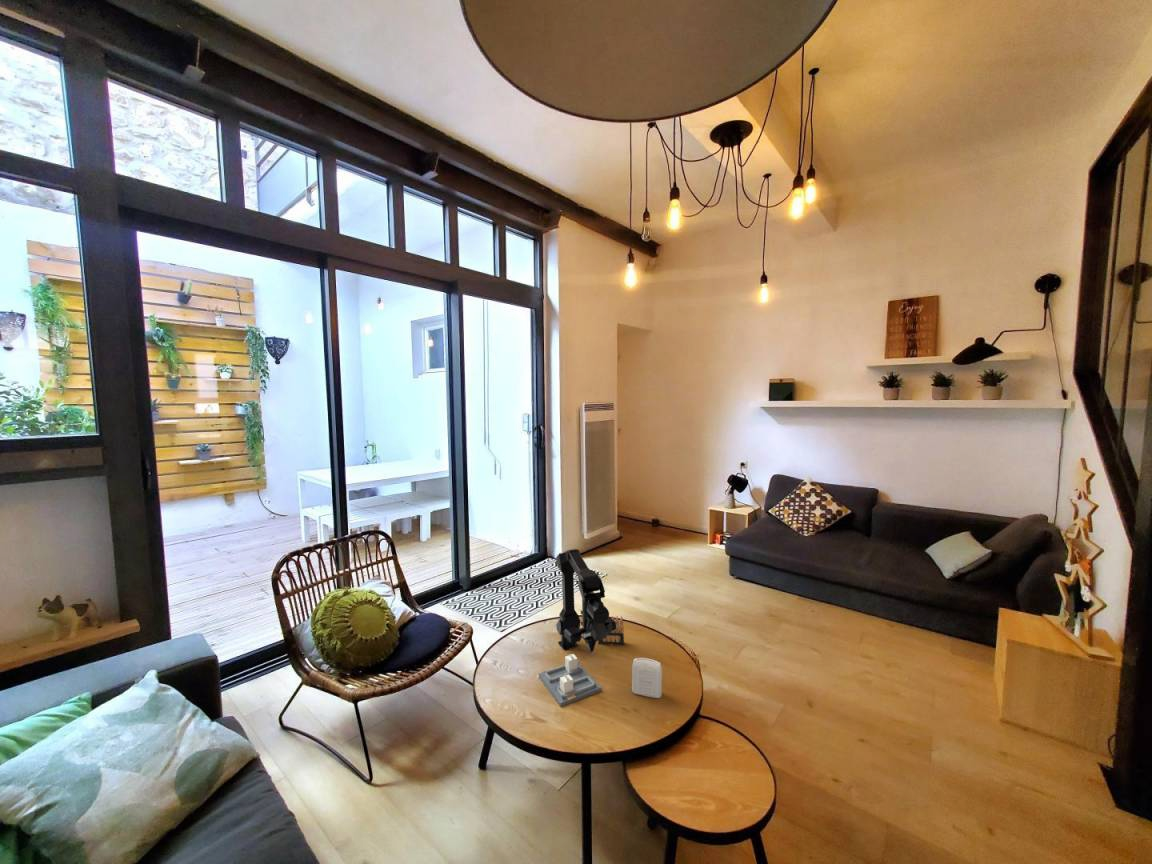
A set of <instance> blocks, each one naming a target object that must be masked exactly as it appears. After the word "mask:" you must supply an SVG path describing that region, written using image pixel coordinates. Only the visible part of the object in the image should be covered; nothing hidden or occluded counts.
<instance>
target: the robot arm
mask: <svg viewBox="0 0 1152 864" xmlns="http://www.w3.org/2000/svg"><path fill="white" fill-rule="evenodd" d="M580 552H581V551H580V550H579V548H578V549H577V548H573V549H568V550H566V551H564V552H559V553H558V554H557V555H556V559H555V562H556V565H557V568H558V570H559V571H560V572H561V585H562V588H561V589H562V609H561V611H560V613H559V616H558V618H559V619H558V621H557V623H556V624H555V626H556V631H557V632H558V635H559V636H560V638H561V639H560V641H559V640H558V642H557V643H558V645H559V646H560V647H561V648H562V649H563V650H564V651H568V650H571V649H573V648H577V647H579V644H578V643H579V642H580V641H581V640H582V639H583V640H584V641H585V645H586V647H587V649H588V651H589V653H593V652H594V649H595V647H596V644H597V642H598V641H599V640H601V639H605V638H606V637H607V634H609V633H611V631H613V630H616V629H617V624H616V620H615V619H614V620H613V619H612V617H611V616H610V611H609V609H608V608H607V607H606V606H605V604H604V602H603V601H602V599H604V598H605V597H606V595H605V593H606V590H605V587H604V584H603V581H602V579H601V577H600V576H599V574H598V573H597V572H596V570H595V571H594V570H592V569H590V568H589V567H588V565H587V563H586V562H585V560H584V559H583V557H582V555H581V553H580ZM574 574H576V576H577V577H578V581H577V586H578V589H579V593H580V596H581V609H582V610H580V615H581V616H582V617H581V618H582V619H580V616H579V614H578V613H577V611H576V610H575V587H574V586H575V585H574V583H575V582H574V581H575V580H574Z"/></svg>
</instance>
